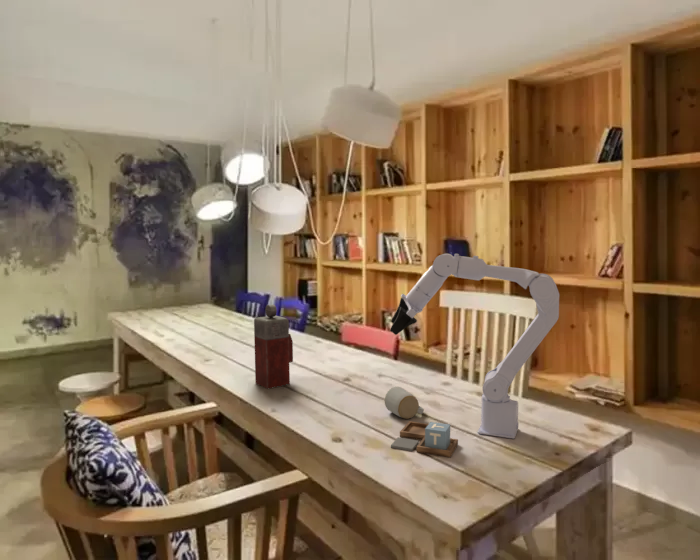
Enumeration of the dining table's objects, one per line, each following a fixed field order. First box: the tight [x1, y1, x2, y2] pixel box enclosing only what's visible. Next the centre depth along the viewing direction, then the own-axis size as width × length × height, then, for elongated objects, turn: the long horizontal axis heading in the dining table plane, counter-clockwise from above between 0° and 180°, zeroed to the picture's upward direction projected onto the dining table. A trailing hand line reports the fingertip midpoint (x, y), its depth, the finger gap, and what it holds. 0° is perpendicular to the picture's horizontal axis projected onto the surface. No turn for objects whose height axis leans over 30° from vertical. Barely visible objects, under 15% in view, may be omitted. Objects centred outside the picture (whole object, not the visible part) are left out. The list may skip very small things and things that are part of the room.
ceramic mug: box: [384, 386, 425, 420], centre depth 155 cm, size 11×8×8 cm
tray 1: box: [399, 420, 429, 441], centre depth 141 cm, size 8×8×1 cm
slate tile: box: [390, 436, 420, 452], centre depth 133 cm, size 6×6×1 cm
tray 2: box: [416, 437, 459, 458], centre depth 131 cm, size 8×8×1 cm
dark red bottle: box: [253, 304, 294, 390], centre depth 187 cm, size 9×11×28 cm
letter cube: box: [425, 421, 451, 450], centre depth 131 cm, size 5×5×5 cm
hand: (393, 327), depth 148 cm, fingers open, 7 cm apart
